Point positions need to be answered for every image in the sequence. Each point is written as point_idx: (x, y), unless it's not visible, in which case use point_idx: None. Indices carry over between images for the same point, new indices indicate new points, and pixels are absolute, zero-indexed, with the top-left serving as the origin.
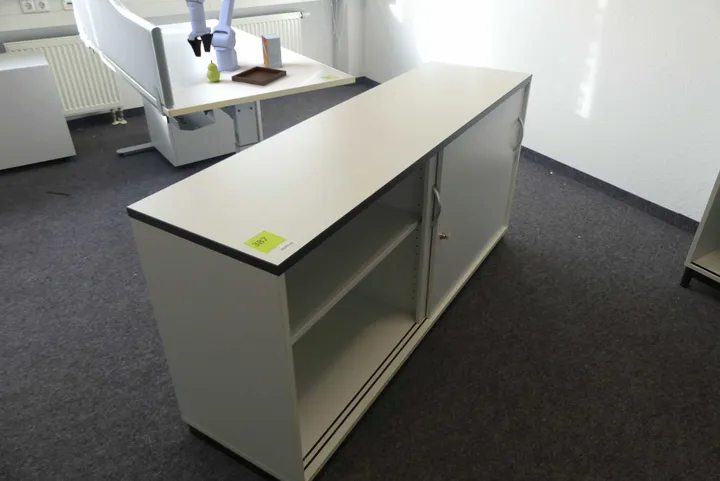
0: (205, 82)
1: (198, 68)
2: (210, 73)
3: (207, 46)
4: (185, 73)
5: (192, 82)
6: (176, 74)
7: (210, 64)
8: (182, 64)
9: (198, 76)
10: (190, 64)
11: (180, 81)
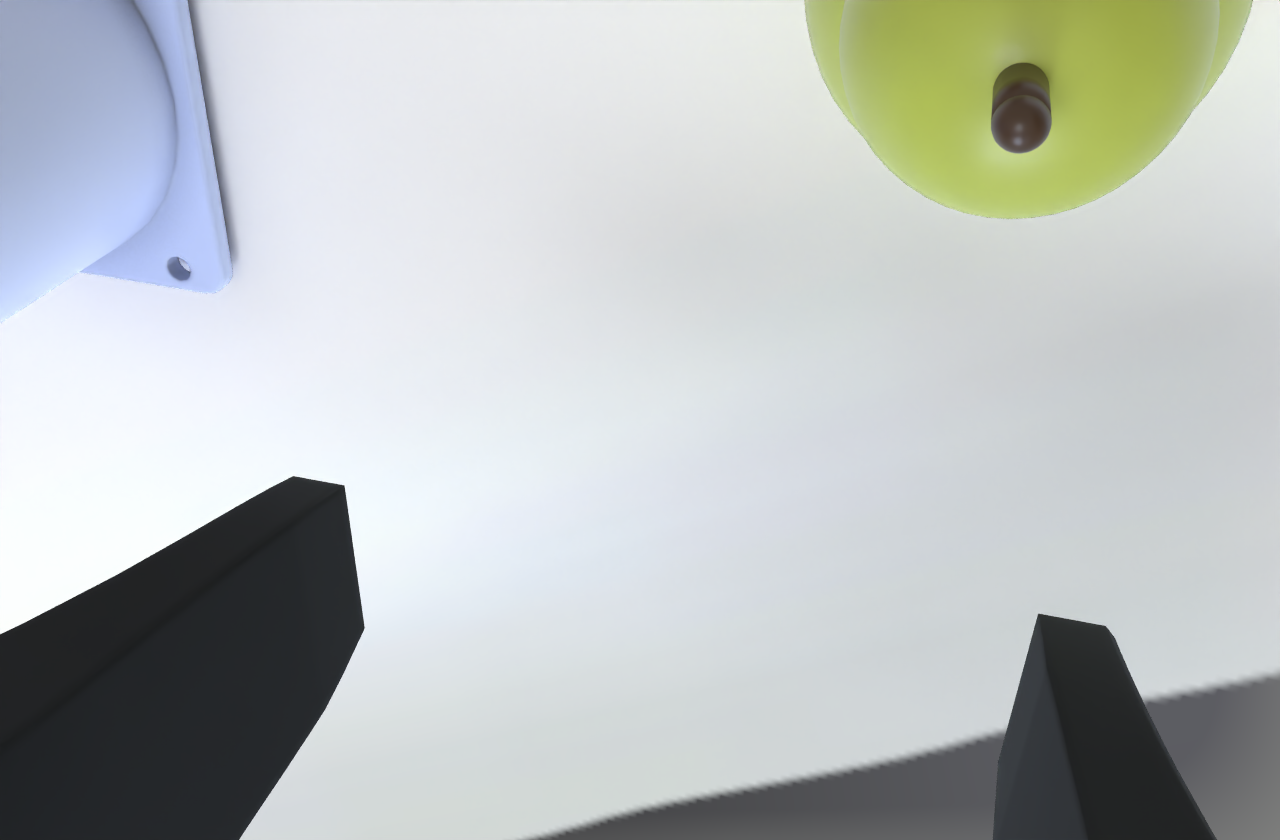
0: None
1: None
2: (1236, 6)
3: (222, 678)
4: (545, 702)
5: (1088, 447)
6: (640, 804)
7: (1124, 103)
8: None
9: (643, 460)
10: None
11: None
